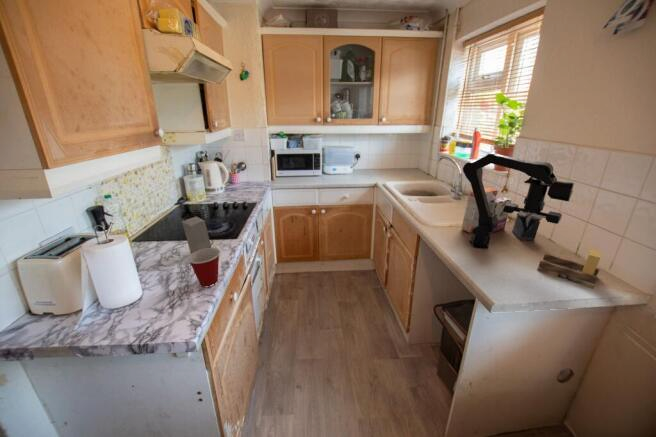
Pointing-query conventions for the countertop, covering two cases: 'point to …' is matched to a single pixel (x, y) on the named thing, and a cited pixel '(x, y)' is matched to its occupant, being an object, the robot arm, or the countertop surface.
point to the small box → (519, 230)
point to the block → (592, 262)
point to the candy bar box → (499, 211)
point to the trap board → (567, 270)
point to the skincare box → (196, 234)
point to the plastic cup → (205, 265)
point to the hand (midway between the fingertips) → (526, 232)
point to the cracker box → (475, 209)
